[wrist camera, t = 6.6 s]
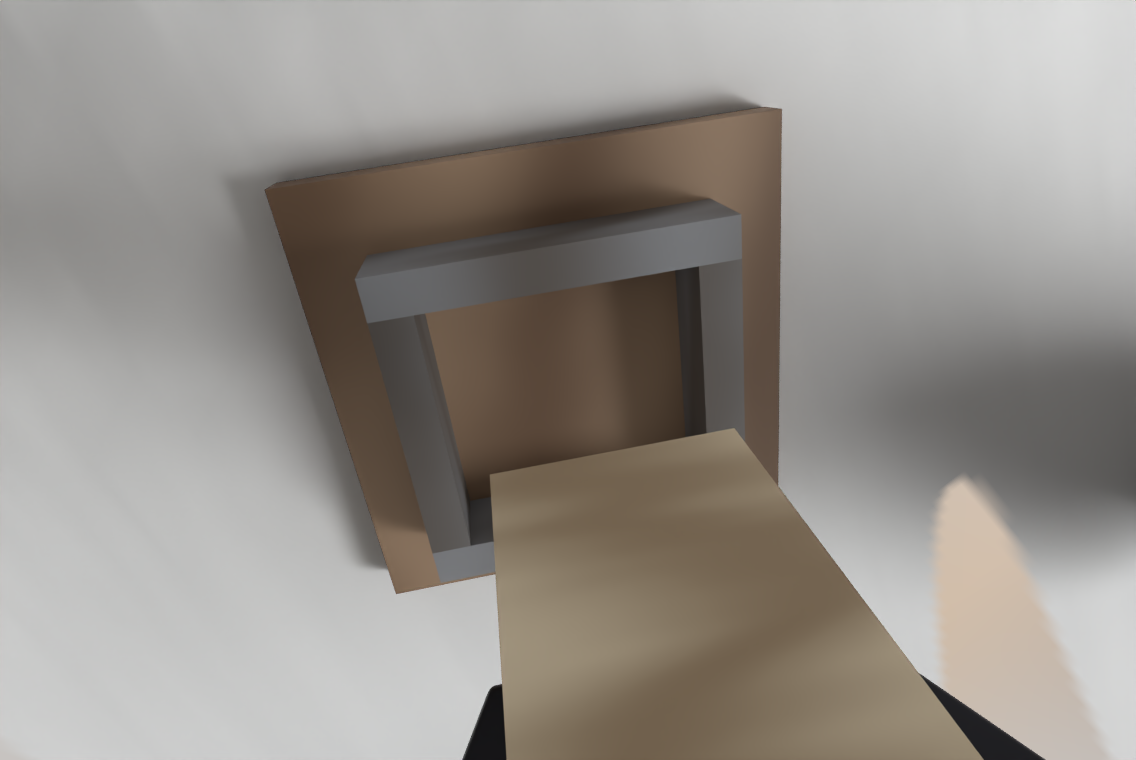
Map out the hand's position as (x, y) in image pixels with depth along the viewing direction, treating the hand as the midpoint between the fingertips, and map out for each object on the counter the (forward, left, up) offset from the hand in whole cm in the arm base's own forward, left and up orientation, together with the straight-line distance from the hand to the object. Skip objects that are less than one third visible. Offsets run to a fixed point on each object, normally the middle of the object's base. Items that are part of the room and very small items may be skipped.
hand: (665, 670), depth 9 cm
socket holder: (0, 0, -11) cm, 11 cm away
